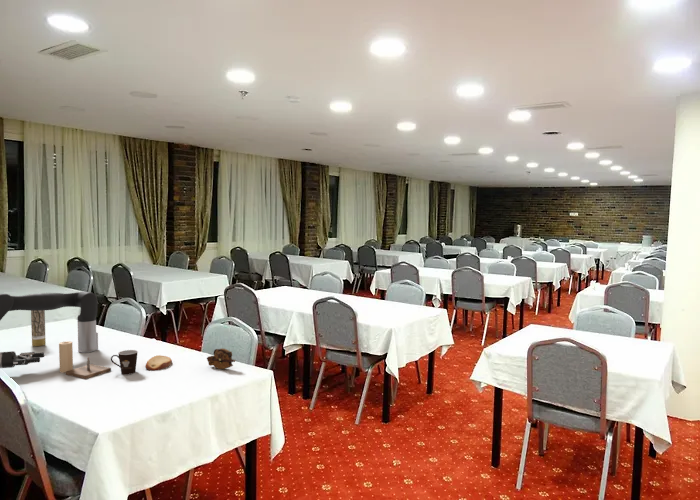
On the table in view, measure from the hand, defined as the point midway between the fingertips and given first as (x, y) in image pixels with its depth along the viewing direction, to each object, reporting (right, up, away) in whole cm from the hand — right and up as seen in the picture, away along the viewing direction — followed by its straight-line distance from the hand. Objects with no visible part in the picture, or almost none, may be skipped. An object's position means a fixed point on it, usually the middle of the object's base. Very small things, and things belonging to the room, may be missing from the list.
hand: (42, 357), depth 248 cm
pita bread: (+50, -8, +17) cm, 53 cm away
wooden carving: (+84, -8, +11) cm, 85 cm away
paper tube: (-33, -4, +52) cm, 61 cm away
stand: (+22, -8, +1) cm, 23 cm away
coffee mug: (+39, -8, +3) cm, 40 cm away
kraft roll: (+10, -8, +4) cm, 13 cm away
